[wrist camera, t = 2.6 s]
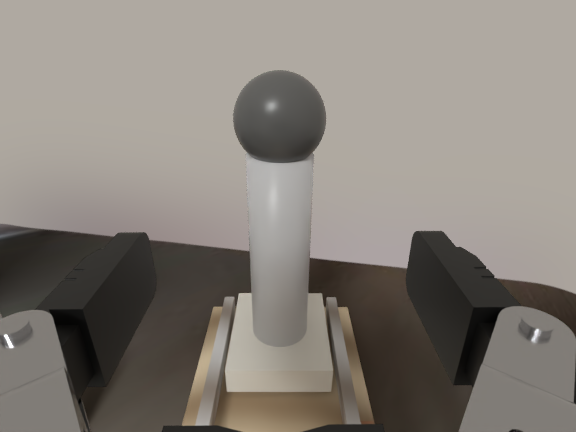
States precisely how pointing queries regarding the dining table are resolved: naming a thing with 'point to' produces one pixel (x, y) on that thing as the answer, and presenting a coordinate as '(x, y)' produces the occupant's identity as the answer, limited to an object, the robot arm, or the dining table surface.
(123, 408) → the dining table surface
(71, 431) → the robot arm
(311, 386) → the slider
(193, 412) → the base
